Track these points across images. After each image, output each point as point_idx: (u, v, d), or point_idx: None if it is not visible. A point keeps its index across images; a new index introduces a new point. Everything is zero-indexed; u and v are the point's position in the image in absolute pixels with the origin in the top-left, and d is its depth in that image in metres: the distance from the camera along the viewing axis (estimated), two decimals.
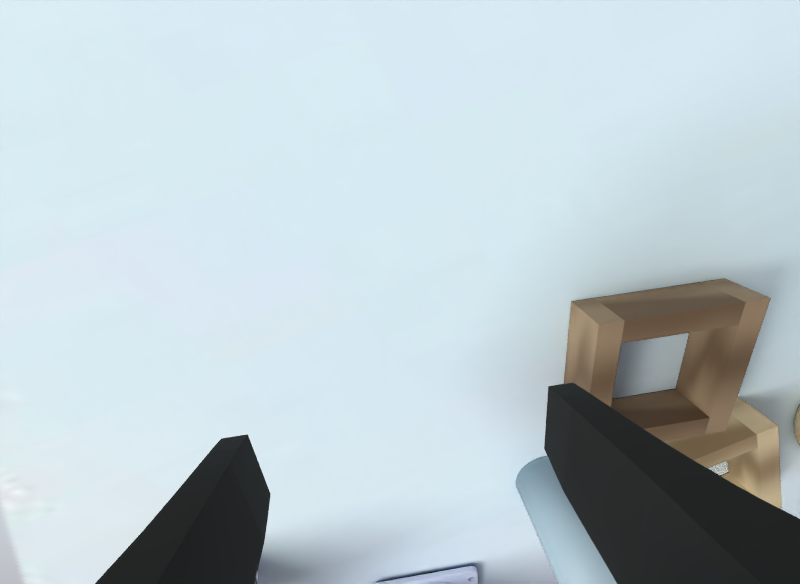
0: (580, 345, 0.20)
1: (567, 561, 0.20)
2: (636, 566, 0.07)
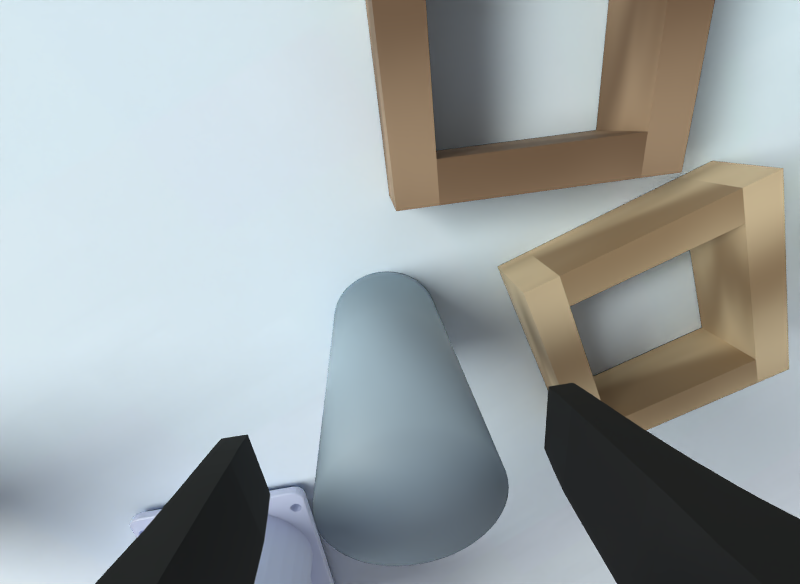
0: None
1: (332, 396, 0.09)
2: (636, 566, 0.07)
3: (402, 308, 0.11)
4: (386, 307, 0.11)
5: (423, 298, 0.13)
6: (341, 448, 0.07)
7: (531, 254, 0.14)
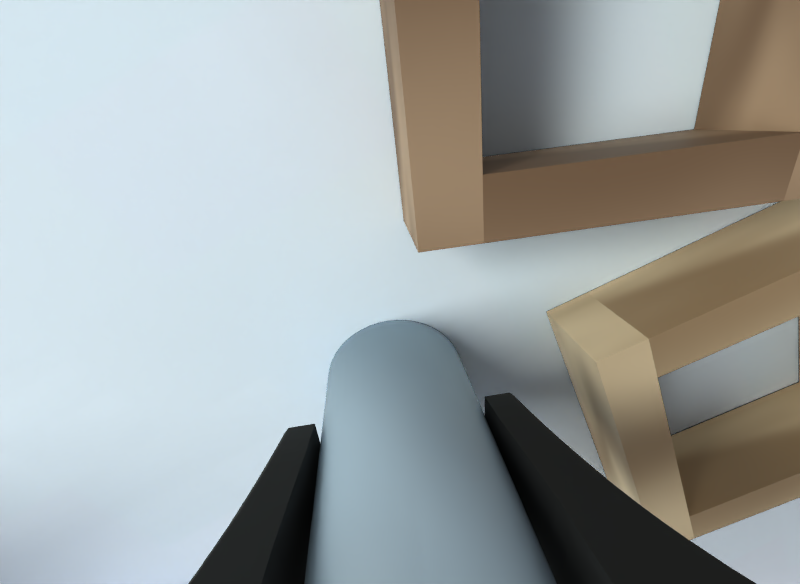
0: None
1: (317, 575, 0.05)
2: None
3: (425, 391, 0.08)
4: (401, 390, 0.08)
5: (450, 363, 0.09)
6: None
7: (593, 297, 0.10)
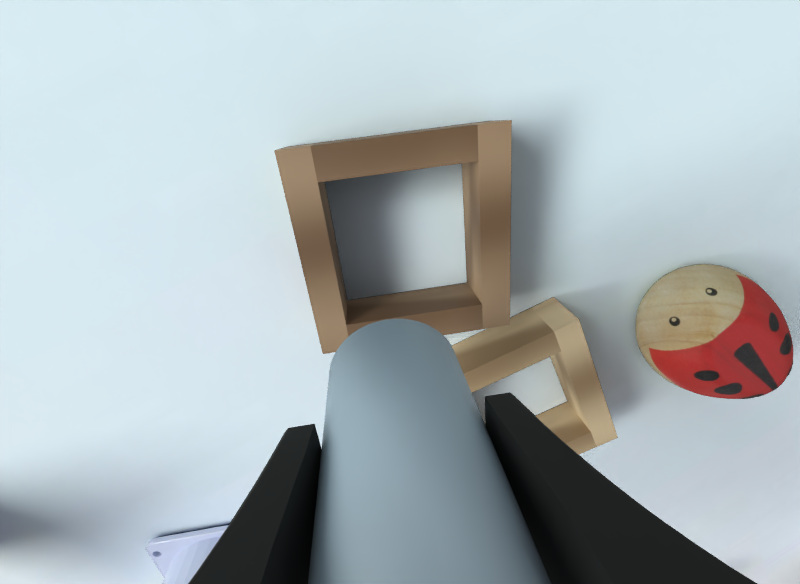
0: None
1: (329, 548, 0.06)
2: (551, 581, 0.07)
3: (431, 388, 0.08)
4: (409, 384, 0.08)
5: (452, 364, 0.10)
6: None
7: None
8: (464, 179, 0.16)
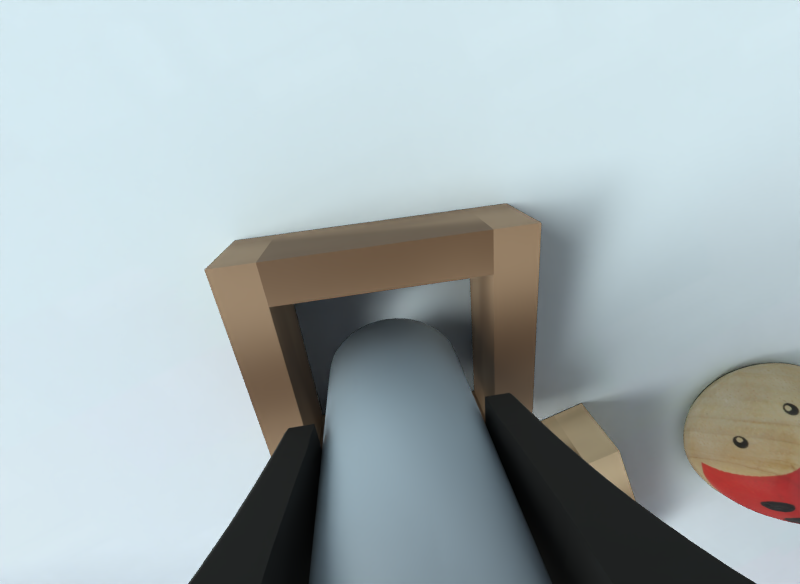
0: None
1: (331, 547, 0.06)
2: (551, 581, 0.07)
3: (433, 388, 0.08)
4: (411, 384, 0.08)
5: (453, 364, 0.10)
6: None
7: None
8: None
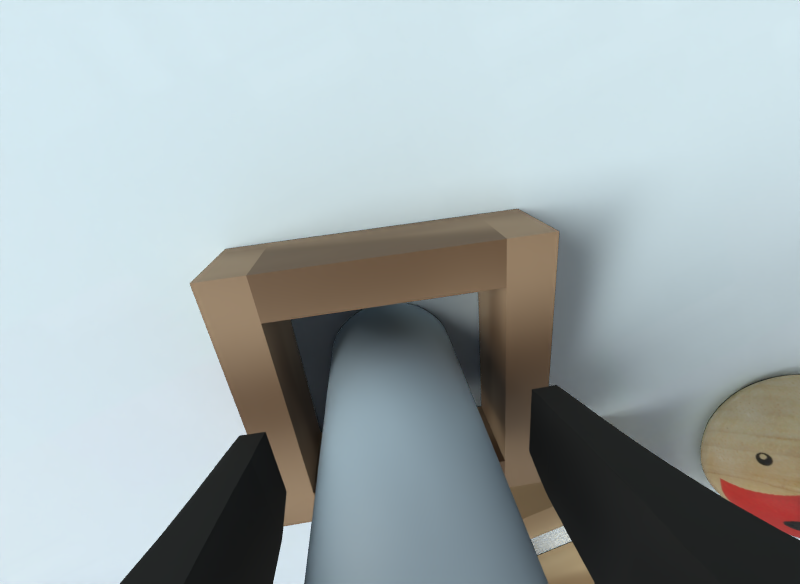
0: None
1: (331, 484, 0.07)
2: (613, 570, 0.07)
3: (423, 359, 0.09)
4: (404, 356, 0.09)
5: (444, 342, 0.11)
6: None
7: None
8: None
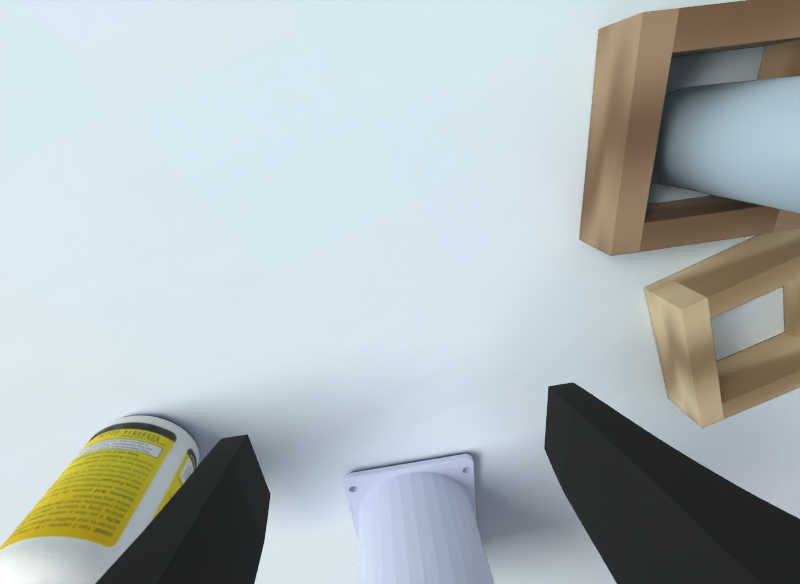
0: (611, 84, 0.14)
1: None
2: (636, 566, 0.07)
3: None
4: None
5: None
6: None
7: (672, 279, 0.19)
8: (767, 71, 0.16)
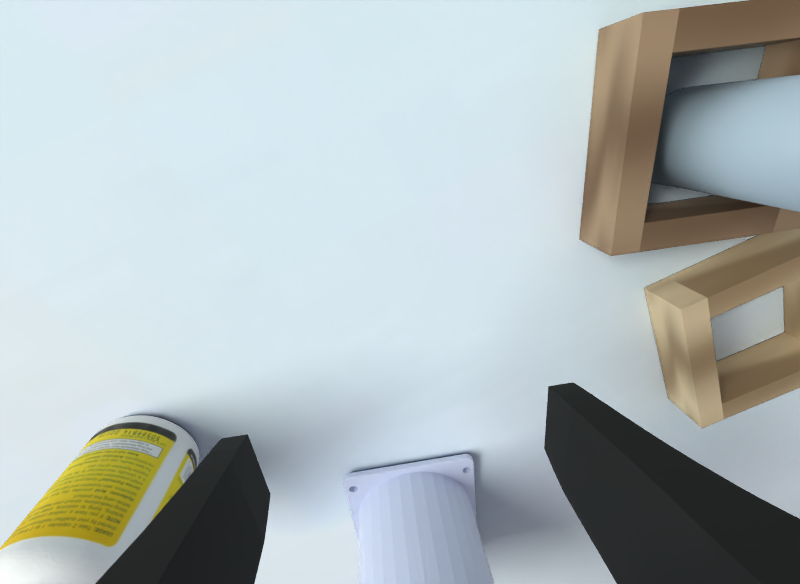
0: (611, 84, 0.14)
1: None
2: (636, 566, 0.07)
3: None
4: None
5: None
6: None
7: (671, 279, 0.19)
8: (767, 71, 0.16)
